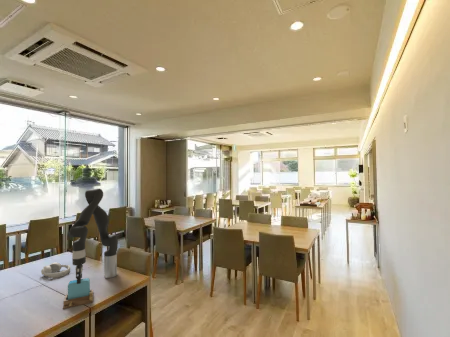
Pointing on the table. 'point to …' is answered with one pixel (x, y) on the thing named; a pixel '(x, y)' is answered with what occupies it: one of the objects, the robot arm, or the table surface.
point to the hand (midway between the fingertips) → (79, 280)
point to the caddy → (77, 301)
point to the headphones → (55, 270)
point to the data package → (78, 288)
